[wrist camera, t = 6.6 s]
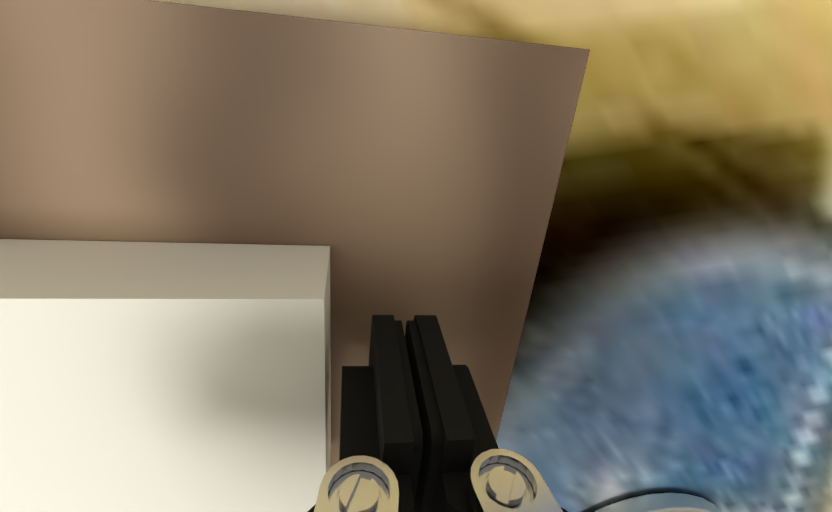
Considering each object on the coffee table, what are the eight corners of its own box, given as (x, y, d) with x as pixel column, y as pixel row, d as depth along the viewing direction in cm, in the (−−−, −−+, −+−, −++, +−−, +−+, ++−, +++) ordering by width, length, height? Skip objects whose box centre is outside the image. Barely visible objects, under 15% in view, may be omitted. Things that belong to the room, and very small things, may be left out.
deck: (530, 49, 12) (590, 49, 9) (458, 437, 19) (478, 511, 16) (-15, -10, 10) (-177, -36, 7) (122, 453, 17) (70, 543, 14)
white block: (330, 245, 10) (324, 299, 8) (330, 443, 14) (326, 521, 11) (-96, 236, 9) (-242, 297, 7) (11, 460, 12) (-66, 553, 10)
